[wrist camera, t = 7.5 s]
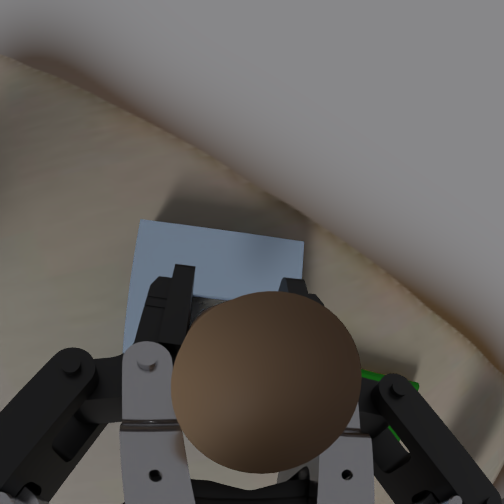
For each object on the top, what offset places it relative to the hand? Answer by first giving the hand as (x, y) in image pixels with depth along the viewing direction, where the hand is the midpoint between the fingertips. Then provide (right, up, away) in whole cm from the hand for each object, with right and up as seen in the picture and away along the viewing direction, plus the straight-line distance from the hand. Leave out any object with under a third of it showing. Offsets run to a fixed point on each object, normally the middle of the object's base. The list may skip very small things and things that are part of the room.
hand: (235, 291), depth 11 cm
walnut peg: (-1, -3, +5) cm, 6 cm away
